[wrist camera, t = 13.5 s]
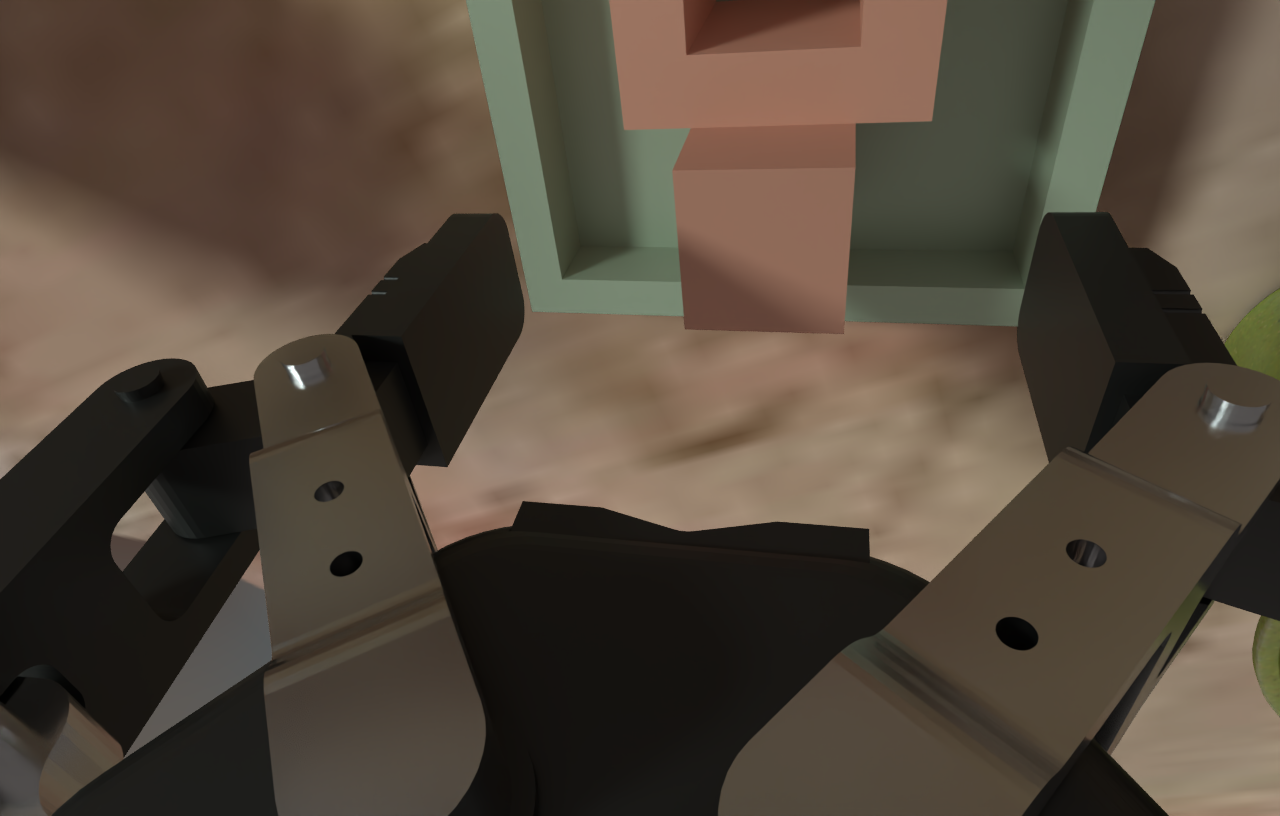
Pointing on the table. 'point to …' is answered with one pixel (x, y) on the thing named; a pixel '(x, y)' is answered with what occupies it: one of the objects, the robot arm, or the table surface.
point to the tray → (885, 159)
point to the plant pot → (1276, 346)
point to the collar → (771, 138)
